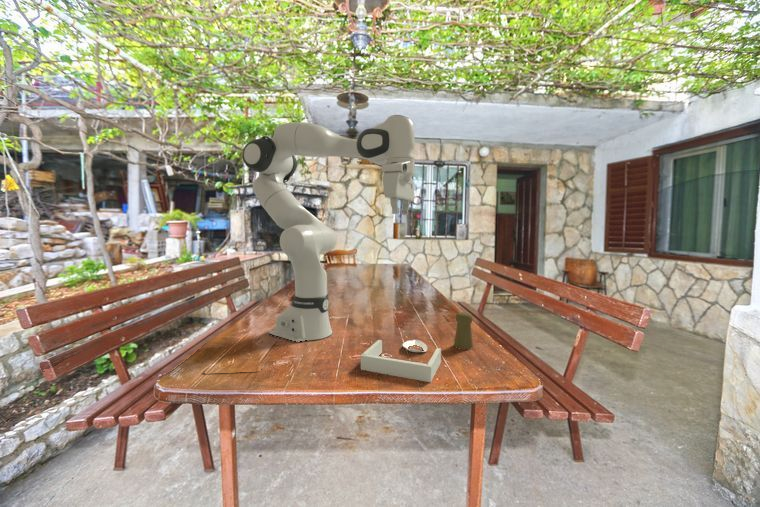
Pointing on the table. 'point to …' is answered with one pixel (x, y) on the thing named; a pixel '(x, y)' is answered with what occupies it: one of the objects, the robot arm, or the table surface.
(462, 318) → the green tapered cylinder
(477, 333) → the table surface
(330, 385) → the table surface
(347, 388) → the table surface
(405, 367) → the box
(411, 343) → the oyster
